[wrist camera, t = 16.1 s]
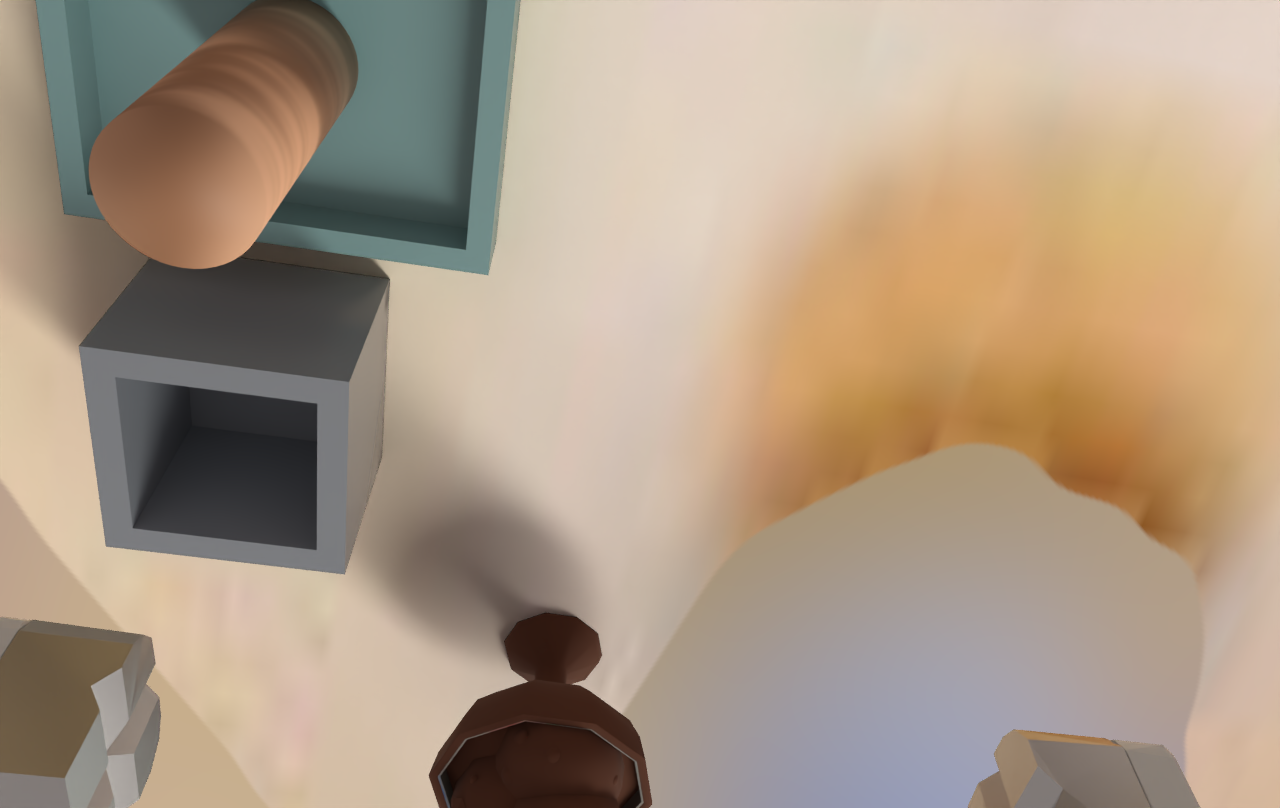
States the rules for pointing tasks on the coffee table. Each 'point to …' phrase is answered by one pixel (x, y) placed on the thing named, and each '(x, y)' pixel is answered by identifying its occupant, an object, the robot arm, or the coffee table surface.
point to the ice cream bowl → (544, 733)
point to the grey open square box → (239, 411)
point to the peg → (224, 134)
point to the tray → (359, 139)
